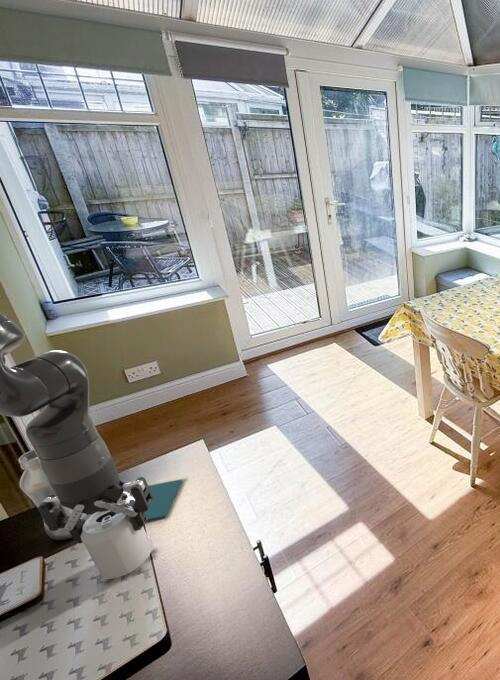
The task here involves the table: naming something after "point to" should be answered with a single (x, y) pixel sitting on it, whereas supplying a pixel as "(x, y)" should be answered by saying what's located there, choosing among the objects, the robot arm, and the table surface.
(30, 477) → the plastic bottle
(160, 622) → the table surface
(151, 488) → the mat
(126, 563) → the can
